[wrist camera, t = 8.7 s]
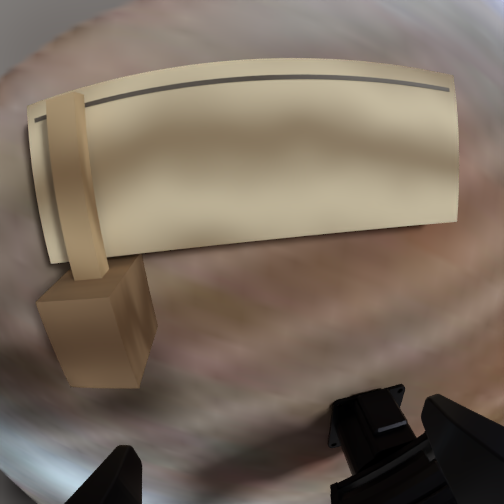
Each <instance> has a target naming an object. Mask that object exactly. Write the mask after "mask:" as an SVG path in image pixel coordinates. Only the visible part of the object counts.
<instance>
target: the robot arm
mask: <svg viewBox="0 0 504 504" xmlns="http://www.w3.org/2000/svg"><path fill="white" fill-rule="evenodd" d="M399 389H400V390H399ZM404 392H405V387H404V385H403V384H399V385H395V386H392V387H388V388H384V389H380V390H377V391H373V392H369V393H364V394H360V395H356V396H352V397H347V398H342V399H338V400H336V401H334V403H333V405H332V414H331V423H330V431H329V438H328V446H329V447H330V448H335V447H339V446H341V447H342V449H343V452H344V455H345V458H346V460H347V463H348V466H349V468H350V471H351V474H352V476H351V477H349V478H347V479H345V480H343V481H341V482H339V483H337V482H336V483H334V484H332V485H330V488H331V494H330V496H331V504H504V426H502V425H500V424H498V423H496V422H494V421H492V420H490V419H488V418H486V417H484V416H482V415H480V414H478V413H476V412H474V411H472V410H470V409H468V408H466V407H464V406H462V405H460V404H458V403H456V402H454V401H452V400H450V399H448V398H446V397H444V396H442V395H440V394H435V395H432V396H429V397H427V398H426V400H425V403H424V407H423V410H422V413H421V420H422V423H423V426H424V428H425V433H423V434H422V435H421V436H419V437H418V438H416V436H415V434H414V432H413V431H412V429H411V427H410V426H409V424H408V422H407V419H406V418H405V416H404V414H403V413H402V411H401V409H400V406H401V402H402V399H403V395H404ZM338 404H340V405H338ZM337 405H338V406H337ZM333 443H334V444H333ZM64 504H142V463H141V460H140V458H139V457H138V455H137V453H136V452H135V450H134V449H133V447H132V446H130V445H119V446H117V447H116V448H115V449H114V450H113V452H112V453H111V454H110V455H109V456H108V457H107V458H106V459H105V460H104V461H103V463H102V464H101V465H100V466H99V467H98V468H97V469H96V470H95V471H94V472H93V473H92V474H91V476H90V477H89V478H88V479H87V480H86V481H85V482H84V483H83V484H82V485H81V486H80V487H79V488H78V490H77V491H76V492H75V493H74V494H73V495H72V496H71V497H70V498H69V499H68V500H67V501H66V502H65V503H64Z"/></svg>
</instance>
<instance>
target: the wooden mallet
mask: <svg viewBox="0 0 504 504" xmlns="http://www.w3.org/2000/svg"><path fill="white" fill-rule="evenodd" d="M46 115H47V130H48V141H49V151H50V160H51V168H52V175H53V182H54V189H55V195H56V201H57V206H58V212H59V217H60V222H61V227H62V232H63V236H64V241H65V245H66V250H67V254H68V258H69V262H70V266H71V269H70V270H69V271H68V272H67V273H65V274H64V275H63V276H62V277H61V278H60V279H59V280H58V281H57V282H56V283H55V284H54V285H53V286H52V287H51V288H50V289H49V290H48V291H47V292H45V293H44V294H43V295H42V296H41V297H40V298H39V299H38V300H37V301H36V302H35V303H36V305H37V308H38V311H39V314H40V317H41V319H42V322H43V325H44V327H45V330H46V333H47V335H48V338H49V340H50V342H51V345H52V347H53V350H54V352H55V354H56V357H57V359H58V361H59V363H60V366H61V368H62V370H63V372H64V374H65V376H66V379H67V381H68V383H69V385H70V387H82V388H139V387H140V383H141V380H142V376H143V373H144V370H145V366H146V363H147V360H148V356H149V353H150V350H151V346H152V343H153V340H154V337H155V334H156V330H157V327H158V325H157V321H156V316H155V312H154V308H153V304H152V300H151V295H150V291H149V286H148V282H147V277H146V272H145V268H144V263H143V258H142V253H140V254H131V255H122V256H114V257H106V253H105V248H104V243H103V238H102V234H101V228H100V223H99V218H98V212H97V207H96V201H95V194H94V188H93V181H92V174H91V166H90V158H89V150H88V140H87V130H86V118H85V103H84V94H81V93H77V92H70V93H67V94H64V95H61V96H58V97H55V98H52V99H49V100H46Z"/></svg>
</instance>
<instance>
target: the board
mask: <svg viewBox="0 0 504 504" xmlns="http://www.w3.org/2000/svg"><path fill="white" fill-rule="evenodd" d="M70 92H77V93H81V94H84V103H85V118H86V130H87V140H88V150H89V158H90V166H91V174H92V181H93V188H94V194H95V201H96V207H97V212H98V218H99V223H100V228H101V234H102V238H103V243H104V248H105V253H106V257H114V256H122V255H131V254H140V253H149V252H158V251H167V250H176V249H185V248H194V247H203V246H212V245H222V244H231V243H240V242H250V241H260V240H269V239H279V238H289V237H299V236H309V235H319V234H329V233H339V232H349V231H359V230H370V229H380V228H391V227H402V226H413V225H424V224H435V223H446V222H457V212H458V193H459V138H458V119H457V106H456V95H455V86H454V78H453V75H449V74H444V73H439V72H434V71H429V70H423V69H418V68H412V67H405V66H398V65H391V64H383V63H374V62H364V61H352V60H338V59H314V58H274V59H249V60H234V61H222V62H212V63H203V64H195V65H187V66H180V67H174V68H167V69H161V70H156V71H150V72H145V73H140V74H135V75H130V76H126V77H121V78H117V79H113V80H109V81H105V82H101V83H97V84H93V85H90V86H86V87H83V88H79V89H76V90H72V91H69V92H66V93H63V94H60V95H57V96H54V97H51V98H48V99H45V100H42V101H39V102H36V103H34V104H31V105H28V106H27V115H28V131H29V143H30V153H31V162H32V170H33V177H34V184H35V191H36V197H37V202H38V208H39V213H40V218H41V223H42V228H43V233H44V237H45V241H46V246H47V250H48V254H49V258H50V262H51V264H54V263H63V262H69V258H68V254H67V250H66V245H65V241H64V236H63V232H62V227H61V222H60V217H59V212H58V206H57V201H56V195H55V189H54V182H53V175H52V168H51V160H50V151H49V141H48V130H47V115H46V100H49V99H52V98H55V97H58V96H61V95H64V94H67V93H70Z"/></svg>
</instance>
